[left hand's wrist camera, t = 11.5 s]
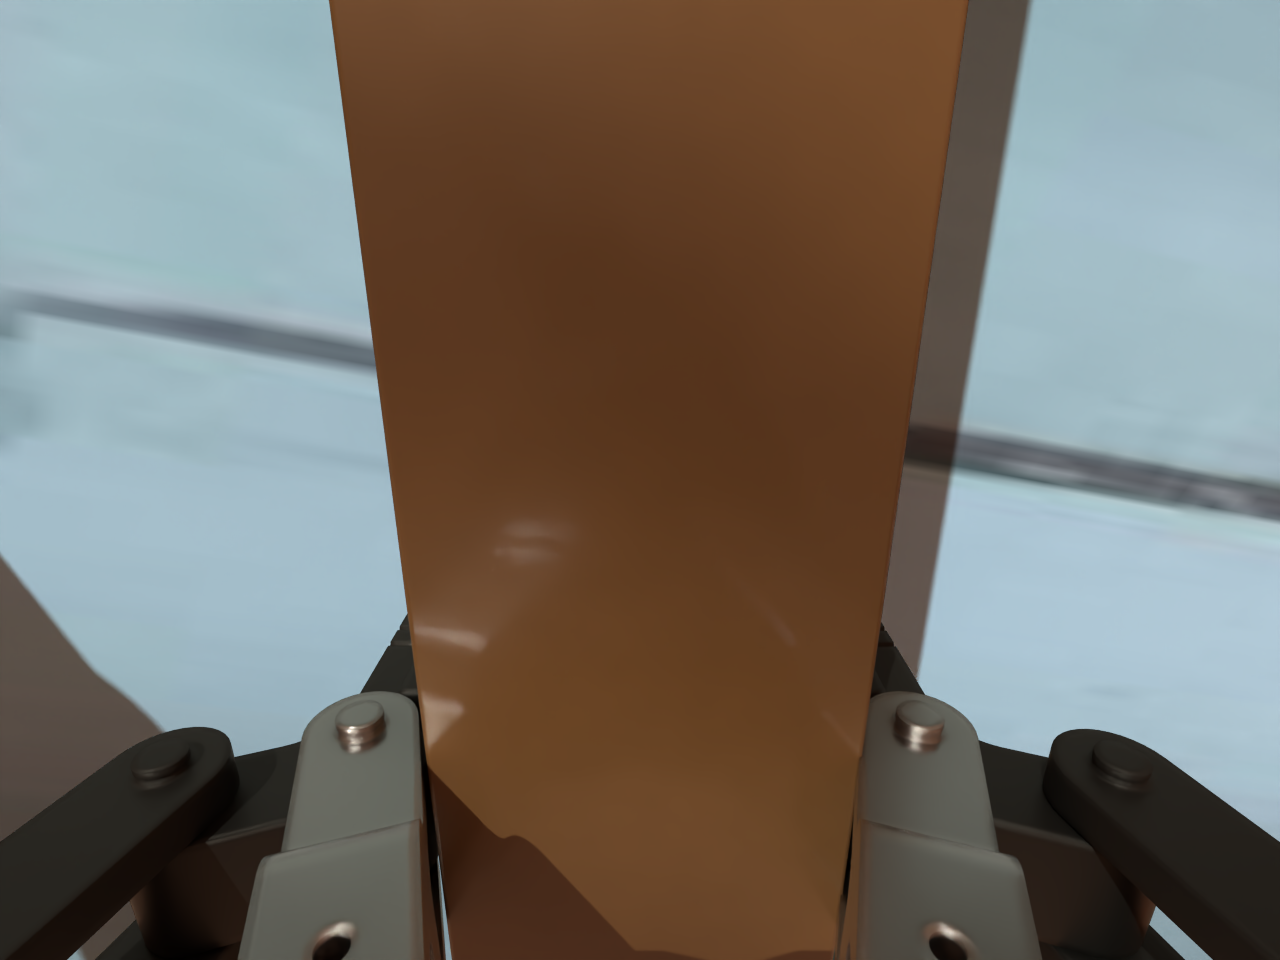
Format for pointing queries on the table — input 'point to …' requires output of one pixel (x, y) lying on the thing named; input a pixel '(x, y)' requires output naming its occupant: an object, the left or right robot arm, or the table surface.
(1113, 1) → the table surface
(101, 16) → the table surface
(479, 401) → the bar
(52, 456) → the table surface
